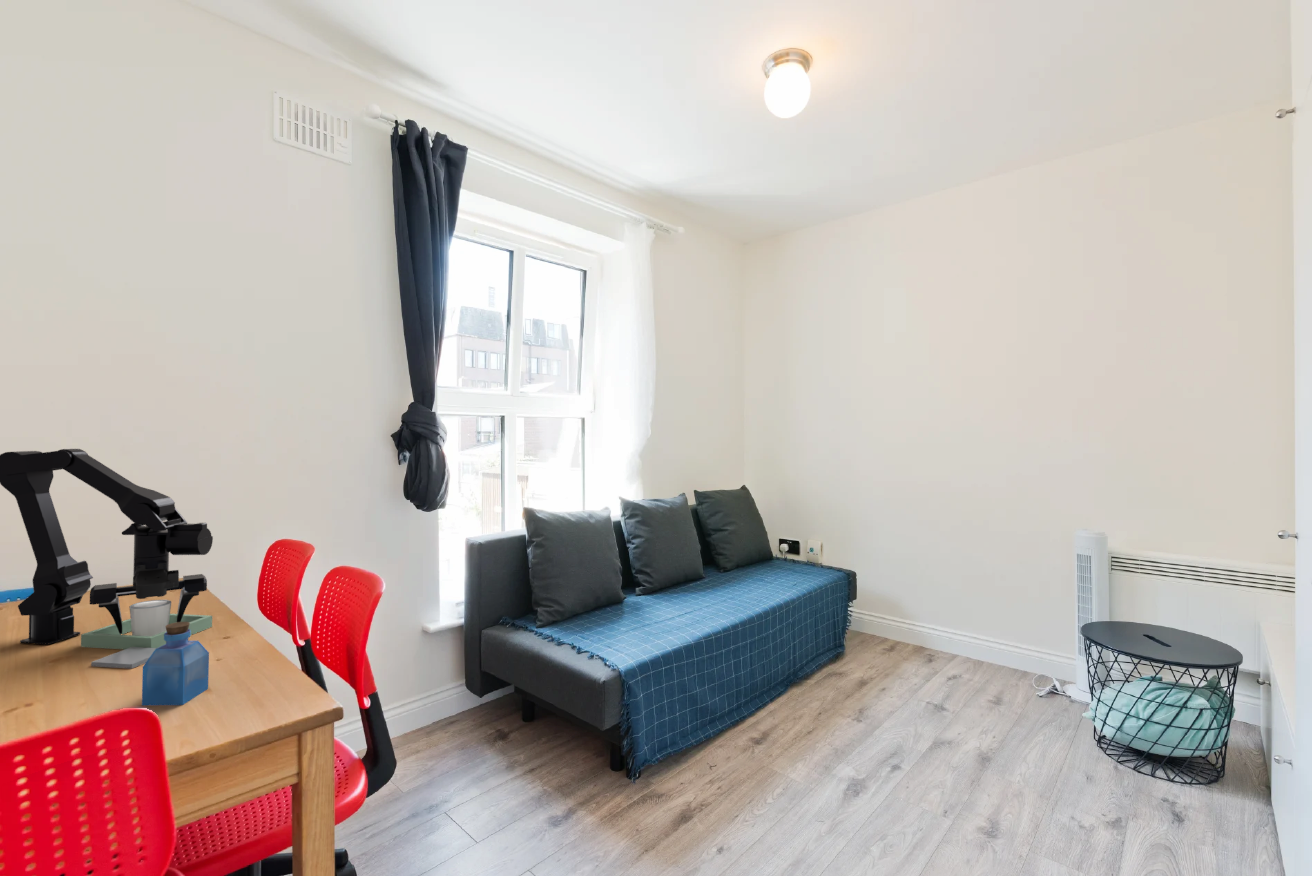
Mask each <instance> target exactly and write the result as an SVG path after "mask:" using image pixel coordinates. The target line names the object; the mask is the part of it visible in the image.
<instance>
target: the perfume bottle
mask: <svg viewBox="0 0 1312 876" xmlns="http://www.w3.org/2000/svg"><path fill="white" fill-rule="evenodd" d="M189 624H190V623H189V622H176V623H171V624H168V625H166V626H165V627H166V631H167V632H166V633H164V640H165V641H166V644H165V645H163V646H161V647H159V648H157V649H155V651H154V652H153V653H152V655H151V656H150V658H149V659H148V660H147V662H146V663H144V664H143V666H142V678H141V679H142V681H141V682H142V684H141V688H142V689H141V706H184V705H185V704H187V703H189V702H190V701H192V700H193V699H195V698H196V697H197V696H199V695H201V694H202V693H204V692H205V691H207V690H208V689H209V672H210V671H209V669H210V668H209V666H210V662H209V661H210V652H209V651H208V650H207V649H206V648H205V647H204V645H203V644H202V643H201V642H200V641H199V640H189V638H190V637H192V635H191V630H190V629H188V628H189Z"/></svg>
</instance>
